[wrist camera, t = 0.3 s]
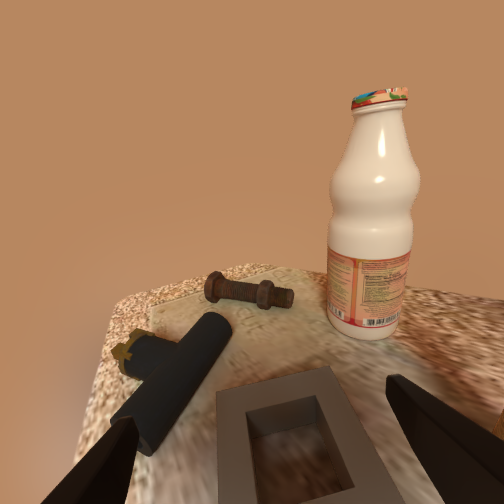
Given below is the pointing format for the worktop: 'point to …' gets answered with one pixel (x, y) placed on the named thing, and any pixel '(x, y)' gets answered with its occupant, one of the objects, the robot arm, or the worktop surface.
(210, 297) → the bolt
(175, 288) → the worktop surface
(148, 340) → the pipe connector
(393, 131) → the fruit juice
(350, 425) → the docking block
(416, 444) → the robot arm
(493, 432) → the brown round cylinder
